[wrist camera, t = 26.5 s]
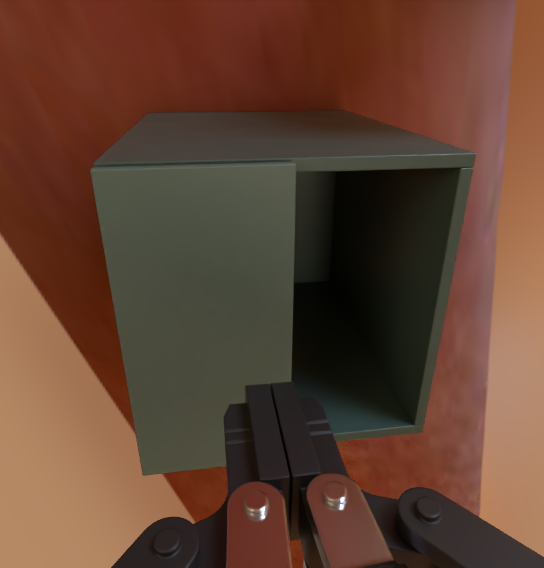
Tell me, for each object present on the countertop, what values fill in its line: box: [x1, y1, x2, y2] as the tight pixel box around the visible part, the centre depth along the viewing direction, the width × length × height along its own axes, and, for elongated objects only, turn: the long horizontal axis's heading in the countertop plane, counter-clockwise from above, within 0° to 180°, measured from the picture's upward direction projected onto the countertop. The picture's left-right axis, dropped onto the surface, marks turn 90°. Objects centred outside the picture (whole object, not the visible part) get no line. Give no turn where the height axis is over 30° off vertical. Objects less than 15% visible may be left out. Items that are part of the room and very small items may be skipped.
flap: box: [90, 162, 296, 476], centre depth 17 cm, size 6×13×1 cm, turn 0°
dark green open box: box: [93, 110, 476, 442], centre depth 25 cm, size 13×13×16 cm
